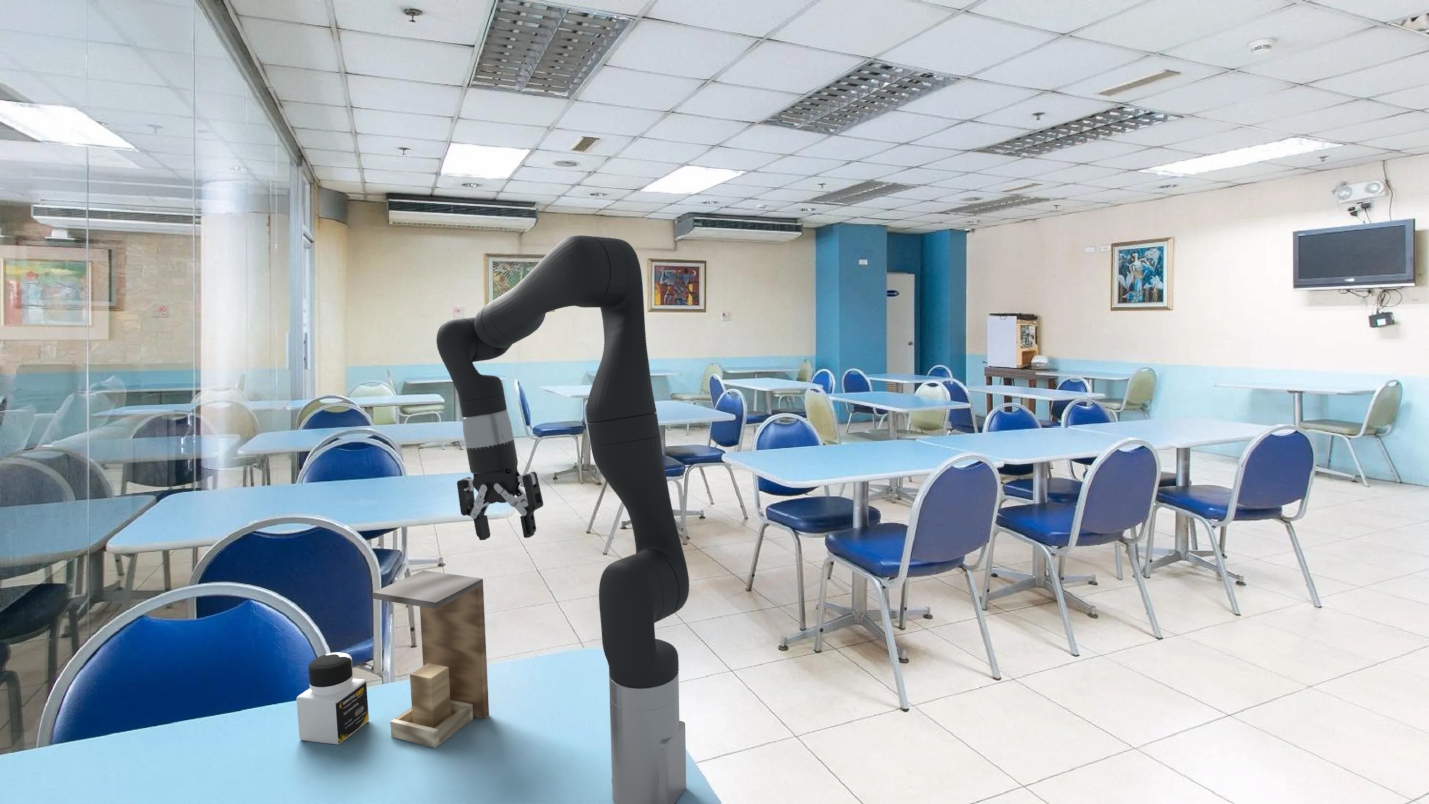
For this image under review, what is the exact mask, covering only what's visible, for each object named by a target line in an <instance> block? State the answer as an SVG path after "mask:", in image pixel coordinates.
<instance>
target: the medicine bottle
mask: <svg viewBox="0 0 1429 804" xmlns="http://www.w3.org/2000/svg"><path fill="white" fill-rule="evenodd" d="M307 668H308V681H309V682H308V683H309V688H308V689H306V690H304V691H303V692H302V693H300V694H299V695H298V696H297V697H296V709H297V711H296V712H297V723H298V734H299V735H298V738H299V740H300V741H306V742H314V743H321V744H331V745H341V744H342V743H343V742H344V741H346V740H347V739H348V738H349V737H351V736H352V735H354V733H356V732H357V731H358V730H359V729H360V728H361V727H364V725H365V724H366V723H368V722H369V721H370V717H369V701H368V686H367V680H366V679H362V678H354V672H353V658H352V656H351V655H350V654H348V653H346V652H338V651H337V652H330V653H329V652H328V653H325V654H322V655H320V656H318V657H316V658H314V659H313V660H312V661H310V663H309V664H308V667H307Z"/></svg>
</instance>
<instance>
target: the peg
mask: <svg viewBox="0 0 1429 804" xmlns="http://www.w3.org/2000/svg"><path fill="white" fill-rule="evenodd" d="M409 679H410V680H409V681H410V682H409V683H410V700H411V707H412V719H413V723H414V724H418V725H422V726H426V727H431V728H435V727H437V726H438V725H439V724H441V723H442V722H444V721H445V720H446V719H448V718H449V717H451V706H450V686H449V667H446V666H441V665H435V664H430V663H428V664H426V665H424V666H423V665H422V667H420V668H418V669H416V670H414V671H413V672H412V673H410V674H409Z"/></svg>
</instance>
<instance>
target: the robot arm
mask: <svg viewBox="0 0 1429 804" xmlns="http://www.w3.org/2000/svg"><path fill="white" fill-rule="evenodd" d="M644 298H645V297H644V284H643V276H642V269H641V263H640V260H639V257H638V255H637V253H636V251H635V249H634V247H633V246H632V245H631V244H630V243H629V242H627V241H625V240H624V239H621V238H616V237H615V238H613V237H605V236H592V235H581V234H580V235H572V236H568V237H567V238H564V239H563V240H561V241H559V243H557V244H556V245H555V246H554V247H552V249H551V250H550V251H548V252H547V253H546V255H544V256H543V258H542V259H541V260H540V261H539V262H538V263H537V264H536V265H535V266H534V267H533V268H532V269H530V271H529V272H528V273H527V274H526V275H525V276H524V277H523V279H521V280H520V281H519V282H518V283H517V284H516V285H514V286H513V287H511V289H509V290H507V292H505V293H503V294H501V295H499V296H498V297H497V298H495V299H493V300H491V301H490V302H487V304H485V305H484V306H482V307H481V308H480V309H479V311H478V312H477V314H475V317H464V318H456V319H455V318H453V319H449V320H446V321H444V322H443V323H442V324H441V325H440V326H439V328H438V330H437V333H436V340H435V341H436V346H437V351H438V353H439V356H440V358H441V360H442V363H443V364H444V366H445V368H446V370H447V372H448V374H449V377H450V378H451V382H452V383H453V385H454V387H455V389H456V391H457V395H458V401H459V407H460V412H461V417H462V432H463V437H464V444H465V449H466V454H467V455H466V456H467V461H468V466H469V471H470V473H471V474H472V475H473V478H472V477H470V476H467V477H463V478H461V479H460V480H457V483H456V486H457V487H456V488H457V493H458V502H459V507H460V508H459V510H460V514H461V515H462V516H463V517H464V516H469V517H471V519H473V522H474V523H473V524H474V528H475V535H476V536H477V538H478V539H479V541H486V540H487V539H490V537H491V531H490V525H489V519H488V514H486V512H487V510H488V508H489V506H490V505H491V504H495V503H500V504H506V503H507V504H508V505H510V507H512V508H514V509H516V511H517V512H518V513H519V514H520V524H521V529H522V534H523V538H524V539H529V538H531V537H532V536H534V535H535V533H536V531H537V526H536V519H535V511H536V510H538V509H540V508H543V506H544V500H543V495H542V491H541V488H540V483H539V477H538V474H537V472H536V471H530V472H528V473H525V474H520V473H519V470H518V463H519V460H518V455H517V450H516V444H515V439H514V433H513V431H514V430H513V427H512V426H513V425H512V422H511V420H510V415H509V412H508V410H507V409H508V408H507V404H506V403H507V402H506V397H505V391H504V385H503V382H502V380H501V378H499V376H496V375H490V374H489V375H488V374H481V373H480V372H479V371H478V370H477V368H476V366H475V364H474V363H476V362H481V361H482V362H483V361H488V360H493V359H496V358H499V357H501V356H503V355H504V354H505V353H506V352H507V351H508V350H509V349H510V348H511V347H512V346H513V345H514V344H515V343H518V342H519V341H521V340H523V339H526V338H527V337H529V336H531V335H532V334H533V333H535V332H536V331H537V330H538V329H539V328H540V327H541V325H542V324H543V322H544V320H545V317H546V315H547V313H549V312H552V311H555V310H559V309H562V308H568V307H578V308H599V309H600V313H601V318H602V329H603V338H604V339H603V351H602V356H601V361H600V363H599V366H598V368H597V371H596V374H595V376H594V379H593V382H592V386H591V388H590V391H589V395H588V397H587V398H588V399H587V403H586V420H587V421H586V422H587V428H588V436H589V442H590V448H591V453H592V458H593V461H594V463H595V465H596V467H597V468H598V471H599V472H600V474H601V475H602V477H603V478H604V480H605V482H607V483H608V485H609V486H610V488H611V490H613V491H614V493H615V494H616V495H617V498H619V499H620V501H621V503H622V504H623V506H624V508H625V509H626V511H627V514H628V516H629V519H630V522H631V527H632V532H633V537H634V544H635V553H633V554H631V555H628V556H626V557H623V558H621V559H618V560H616V561H613V562H611V563H610V564H608V565H607V566H606V567H605V568H604V570H603V572H602V574H601V575H600V576H601V577H600V581H599V586H598V588H599V589H598V606H599V617H600V619H599V620H600V627H601V629H600V630H601V642H602V643H601V644H602V649H603V654H604V657H605V658H606V661H607V665H608V674H609V675H608V676H609V677H608V680H609V681H608V683H609V720H610V722H609V723H610V724H609V725H610V761H611V765H610V766H611V785H612V786H611V789H612V790H611V791H612V792H611V793H612V801H613V803H614V804H677V801H678V800H679V799H680V797H681V796H682V794H683V793H684V792H685V790H686V789H687V751H686V742H687V741H686V722H685V721H682V720H680V680H679V677H680V676H679V675H680V674H679V671H680V668H679V667H680V665H679V653H678V650H677V648H676V647H675V646H674V645H672V643H670V642H668V641H665V640H663V639H658V638H656V631H655V628H656V627H655V624H656V623H658V622H660V621H662V620H664V619H666V618H667V617H670V616H671V615H673V614H675V613H677V612H678V611H680V610H681V609H682V608H683V607H684V606H685V604H686V602H687V600H688V598H689V593H690V577H689V571H688V566H687V561H686V557H685V553H684V550H683V546H682V542H681V537H680V534H679V530H678V526H677V523H676V519H675V514H674V511H673V506H672V501H671V496H670V490H669V485H668V478H667V472H666V467H665V462H664V457H663V449H662V440H661V431H660V425H659V420H658V419H659V418H658V414H657V407H656V402H655V397H654V391H653V385H652V378H651V370H650V361H649V355H648V354H649V353H648V347H647V337H646V335H647V334H646V333H647V332H646V320H645V319H646V318H645V303H644V302H645V301H644ZM520 485H521V487H522V488H524V490H522V489H521V487H520ZM474 490H476V491H477V495H476V498H475V492H474Z"/></svg>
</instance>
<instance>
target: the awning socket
mask: <svg viewBox="0 0 1429 804" xmlns="http://www.w3.org/2000/svg"><path fill="white" fill-rule="evenodd" d="M484 596H485V593H484V579H483V578H481V577H474V576H465V575H459V574H452V573H446V572H437V571H431V570H421V571H418V572H416V573H414V574H412V575H408V576H407V577H405V578H403V579H400V580H398V581H396V582H393V583H391V584H389V585H387V586H384V587H383V588H379V589H376V590H375V591H373V592H372V599H373V600H377V601H378V600H379V601H384V602H390V603H398V604H402V605H403V604H404V605H409V606H415V607H419V615H420V617H419V618H420V632H421V633H420V634H421V649H422V654H421V655H422V667H423V666H424V665H426V664H428V663H430V664H435V665H441V666H446V667H449V686H450V706H451V717H449V718H448V719H446V720H445V721H444V722H442V723H441V724H439V725H438V726H437V727H435V728H431V727H426V726H422V725H418V724H414V723H413V719H412V706H411V707H410V708H408V709H407V710H405V711H404V712H402V713H401V714H400V715H397V716H396V717H394V719H392V720H390V722H389V723H390V735H391V736H390V737H391V738H394V739H399V740H402V741H407V742H411V743H414V744H419V745H423V746H427V747H431V748H434V749H436V748H437V747H438V746H440V745H441V744H442V743H444V742H445V741H447V740H448V739H449V738H451V737H452V736H453V735H454V734H456V733H457V732H458V731H460V730H461V729H462V728H463V727H465V726H466V725H467V724H469V723H470V722H472V720H474V718H478V719H482V720H485V719H486V718H488V717H489V716H490V704H489V686H488V685H489V684H488V683H489V681H488V663H487V662H488V661H487V659H488V658H487V640H486V639H487V638H486V622H485V621H486V618H485V617H486V616H485V615H486V614H485V597H484Z"/></svg>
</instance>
